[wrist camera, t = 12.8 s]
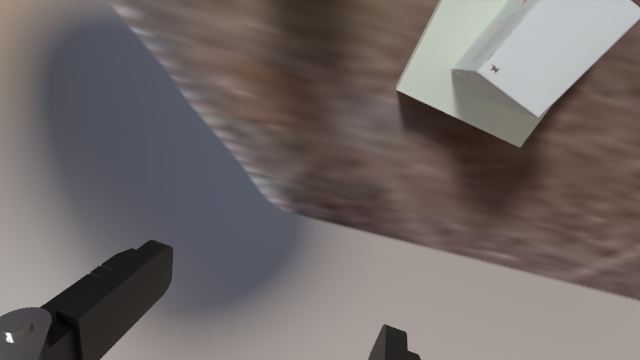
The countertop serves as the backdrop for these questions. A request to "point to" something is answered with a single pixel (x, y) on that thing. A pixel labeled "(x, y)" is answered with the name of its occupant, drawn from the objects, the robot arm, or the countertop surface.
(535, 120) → the block
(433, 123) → the countertop surface
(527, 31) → the small box
